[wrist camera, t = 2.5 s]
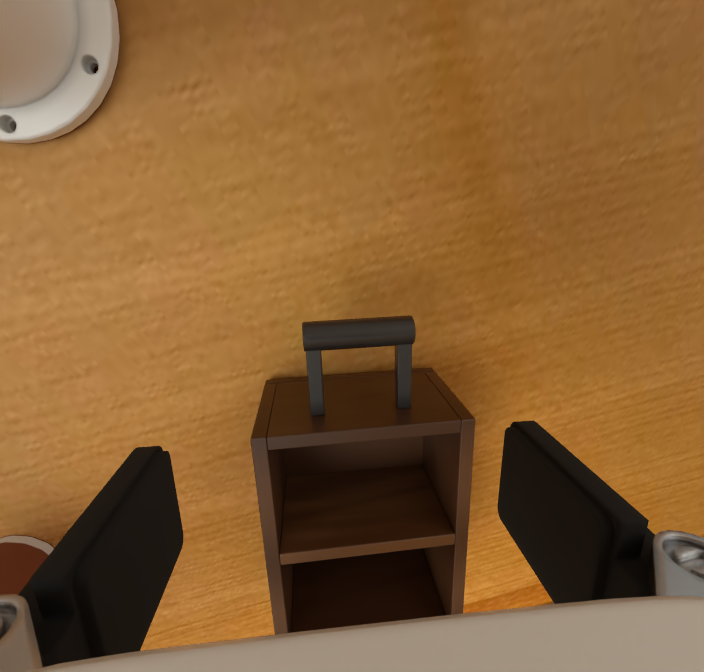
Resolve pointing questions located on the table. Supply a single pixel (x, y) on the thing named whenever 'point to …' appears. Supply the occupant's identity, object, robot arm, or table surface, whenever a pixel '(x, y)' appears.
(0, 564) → the coffee cup
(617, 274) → the table surface
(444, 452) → the shelf
